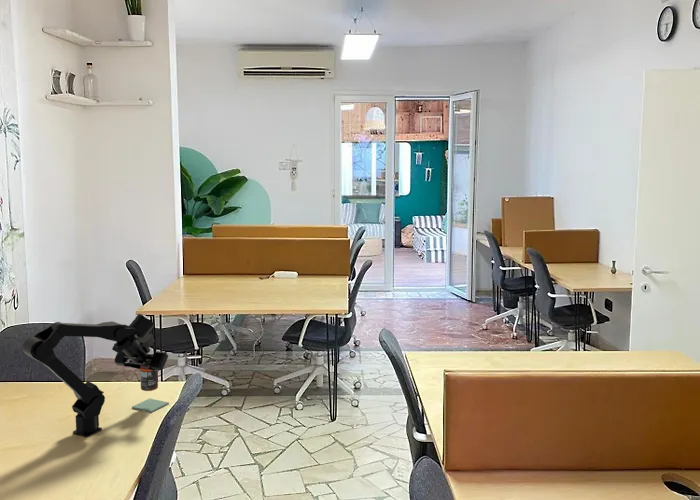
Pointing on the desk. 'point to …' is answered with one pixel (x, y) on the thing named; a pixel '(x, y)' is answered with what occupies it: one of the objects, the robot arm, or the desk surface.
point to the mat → (150, 405)
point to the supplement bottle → (148, 377)
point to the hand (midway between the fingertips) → (151, 369)
